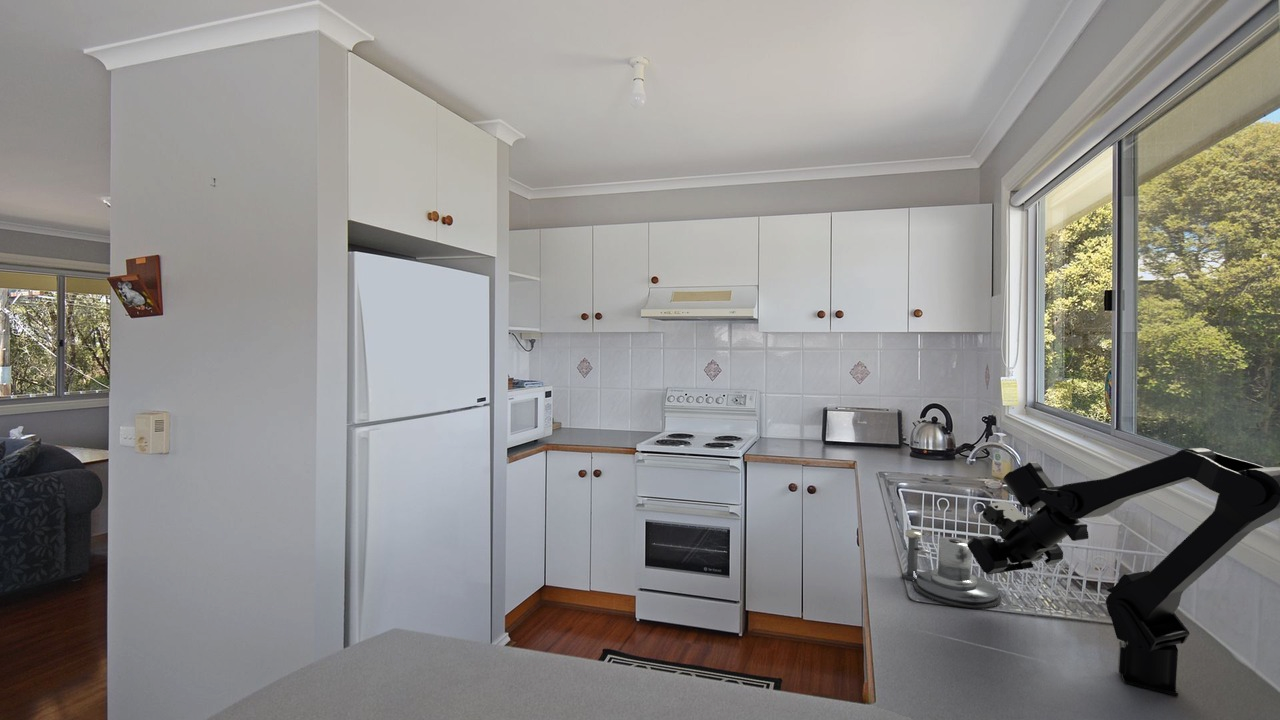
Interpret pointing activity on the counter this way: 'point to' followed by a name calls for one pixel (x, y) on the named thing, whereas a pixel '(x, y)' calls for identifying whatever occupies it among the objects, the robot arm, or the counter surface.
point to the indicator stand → (913, 553)
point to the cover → (954, 565)
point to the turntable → (959, 593)
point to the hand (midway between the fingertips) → (987, 571)
